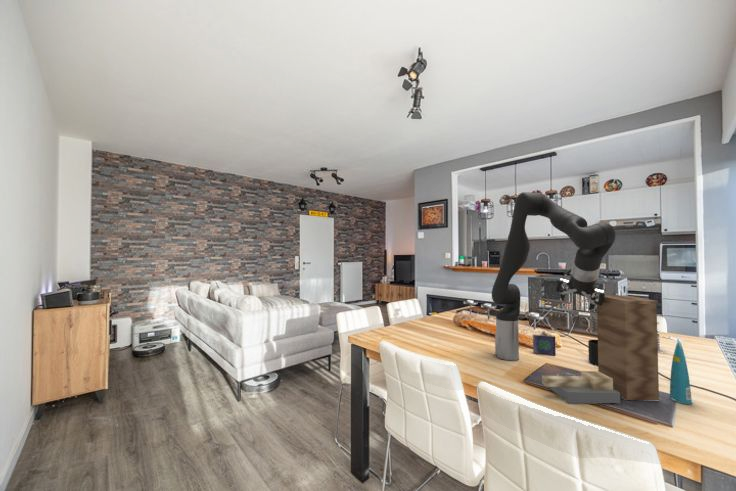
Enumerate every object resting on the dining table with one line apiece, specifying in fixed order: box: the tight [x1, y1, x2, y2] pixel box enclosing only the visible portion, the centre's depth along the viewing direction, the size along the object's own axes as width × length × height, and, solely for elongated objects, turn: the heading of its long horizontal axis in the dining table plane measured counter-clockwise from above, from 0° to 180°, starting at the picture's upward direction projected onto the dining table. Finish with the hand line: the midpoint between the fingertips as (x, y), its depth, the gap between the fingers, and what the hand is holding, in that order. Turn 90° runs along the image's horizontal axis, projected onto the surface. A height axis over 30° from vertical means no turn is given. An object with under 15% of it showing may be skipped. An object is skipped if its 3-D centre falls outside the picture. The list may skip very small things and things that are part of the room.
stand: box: [594, 294, 660, 401], centre depth 100 cm, size 11×13×32 cm
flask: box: [532, 330, 557, 357], centre depth 138 cm, size 9×3×11 cm, turn 71°
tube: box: [669, 337, 693, 405], centre depth 94 cm, size 7×5×19 cm, turn 140°
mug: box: [587, 339, 598, 367], centre depth 126 cm, size 9×12×9 cm
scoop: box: [541, 370, 613, 390], centre depth 97 cm, size 20×6×4 cm, turn 88°
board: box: [549, 387, 621, 405], centre depth 97 cm, size 16×10×4 cm, turn 88°
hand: (576, 303), depth 110 cm, fingers open, 8 cm apart
